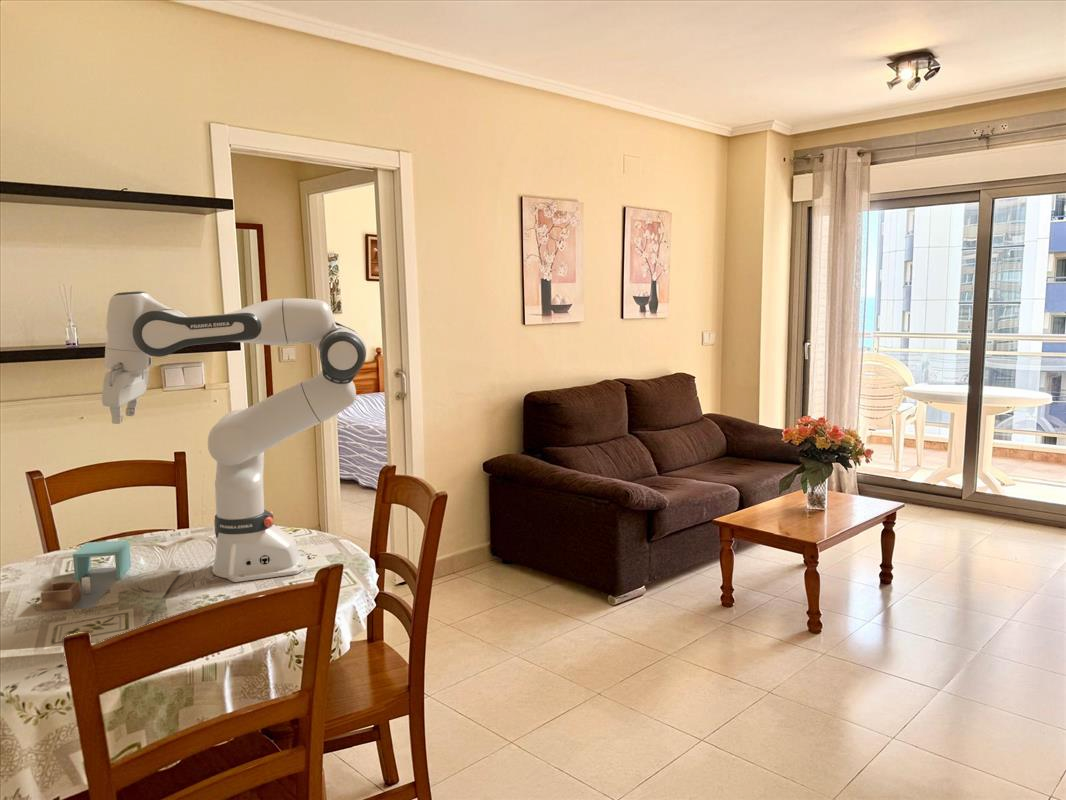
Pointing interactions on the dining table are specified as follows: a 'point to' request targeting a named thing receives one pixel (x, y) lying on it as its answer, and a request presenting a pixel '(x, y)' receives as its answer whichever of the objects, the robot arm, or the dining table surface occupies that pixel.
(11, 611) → the dining table surface
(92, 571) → the housing base
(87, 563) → the cover
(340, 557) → the dining table surface
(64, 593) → the block
